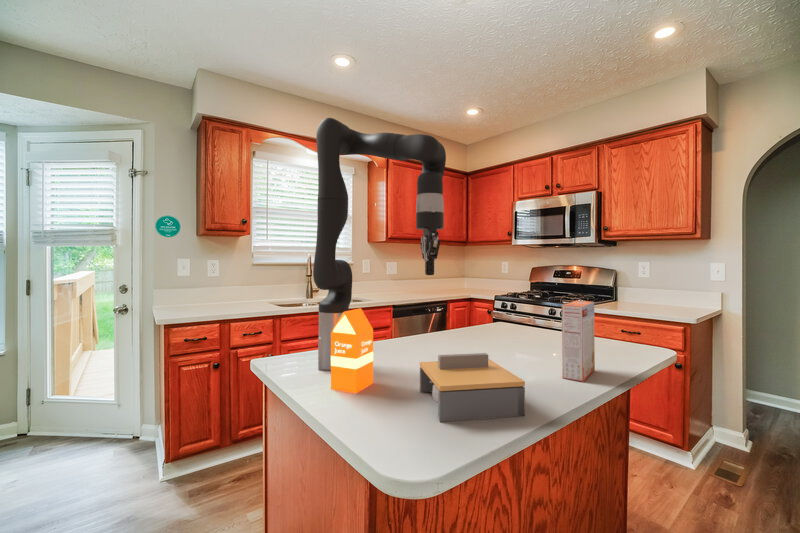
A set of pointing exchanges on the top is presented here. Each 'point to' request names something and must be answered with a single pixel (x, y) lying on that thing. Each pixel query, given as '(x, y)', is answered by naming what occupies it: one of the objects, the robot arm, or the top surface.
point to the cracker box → (578, 340)
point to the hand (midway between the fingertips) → (429, 275)
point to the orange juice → (352, 352)
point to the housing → (476, 402)
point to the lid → (468, 373)
